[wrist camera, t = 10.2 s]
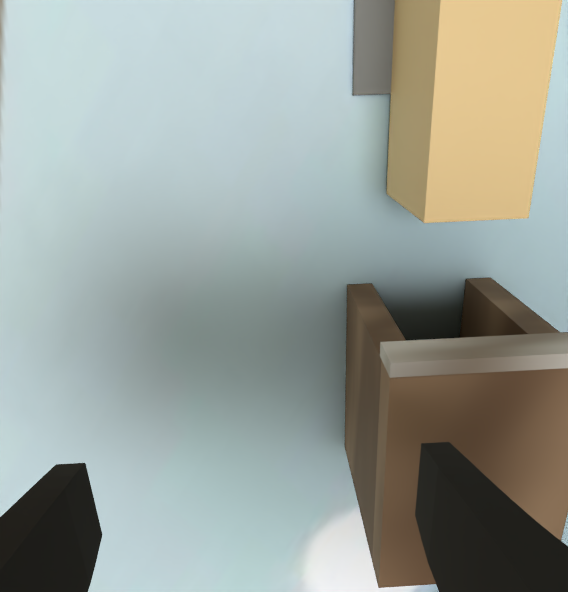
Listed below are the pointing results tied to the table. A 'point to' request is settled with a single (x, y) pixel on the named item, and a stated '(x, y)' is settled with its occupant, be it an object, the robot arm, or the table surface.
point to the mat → (373, 46)
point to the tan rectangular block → (468, 105)
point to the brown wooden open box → (453, 415)
